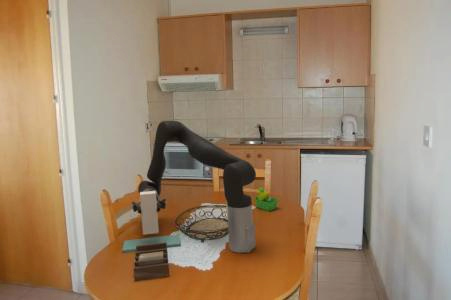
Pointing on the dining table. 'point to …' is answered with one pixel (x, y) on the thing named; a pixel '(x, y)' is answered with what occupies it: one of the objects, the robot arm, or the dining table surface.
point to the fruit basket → (265, 200)
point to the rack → (151, 270)
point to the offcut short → (151, 253)
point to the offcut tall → (150, 261)
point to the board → (151, 242)
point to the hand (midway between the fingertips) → (149, 210)
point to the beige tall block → (149, 212)
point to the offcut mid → (151, 255)
